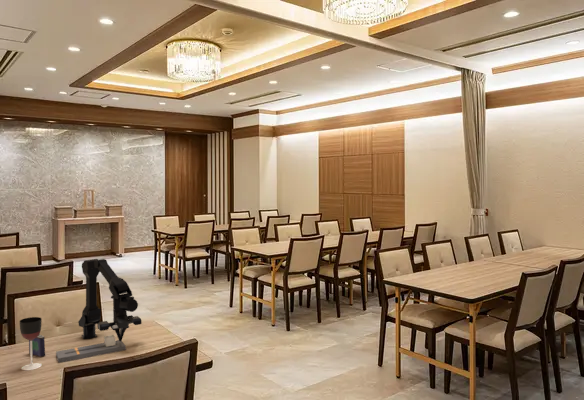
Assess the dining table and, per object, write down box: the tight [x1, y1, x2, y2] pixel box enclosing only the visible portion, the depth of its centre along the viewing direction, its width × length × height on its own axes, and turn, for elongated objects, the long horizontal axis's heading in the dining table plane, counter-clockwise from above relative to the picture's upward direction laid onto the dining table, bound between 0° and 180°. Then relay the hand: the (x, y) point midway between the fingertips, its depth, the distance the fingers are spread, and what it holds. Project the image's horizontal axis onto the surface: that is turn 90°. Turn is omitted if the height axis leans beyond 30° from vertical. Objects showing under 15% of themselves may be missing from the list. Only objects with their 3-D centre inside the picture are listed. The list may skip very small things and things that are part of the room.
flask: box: [28, 333, 46, 358], centre depth 205 cm, size 9×3×11 cm, turn 65°
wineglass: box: [19, 316, 43, 371], centre depth 191 cm, size 8×9×20 cm
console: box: [55, 339, 127, 364], centre depth 207 cm, size 10×28×2 cm, turn 123°
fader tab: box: [103, 334, 116, 347], centre depth 212 cm, size 4×4×4 cm
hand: (120, 341), depth 214 cm, fingers closed
